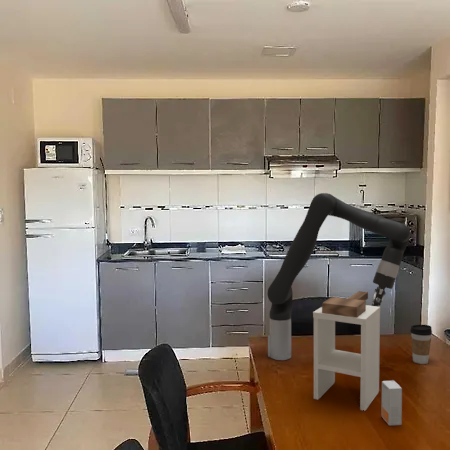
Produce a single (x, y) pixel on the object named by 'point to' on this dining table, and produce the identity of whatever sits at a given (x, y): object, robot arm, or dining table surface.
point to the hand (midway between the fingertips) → (372, 314)
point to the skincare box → (391, 403)
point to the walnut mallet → (346, 305)
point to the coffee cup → (421, 343)
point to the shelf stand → (347, 353)
